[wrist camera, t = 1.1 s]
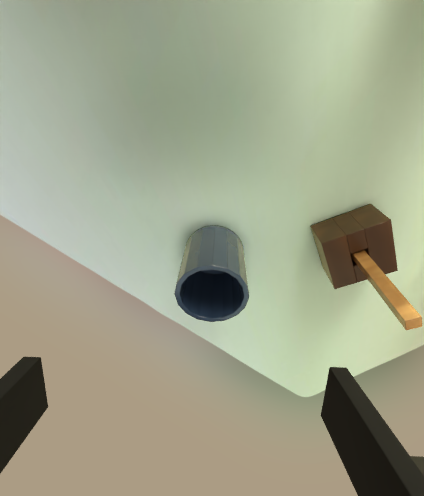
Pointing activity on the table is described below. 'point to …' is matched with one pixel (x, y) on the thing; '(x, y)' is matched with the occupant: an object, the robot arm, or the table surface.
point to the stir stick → (388, 291)
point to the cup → (212, 275)
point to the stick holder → (354, 244)
